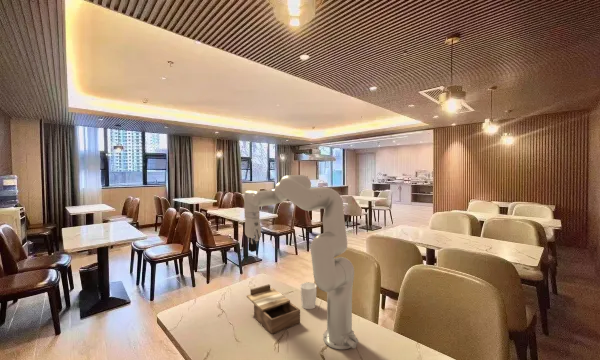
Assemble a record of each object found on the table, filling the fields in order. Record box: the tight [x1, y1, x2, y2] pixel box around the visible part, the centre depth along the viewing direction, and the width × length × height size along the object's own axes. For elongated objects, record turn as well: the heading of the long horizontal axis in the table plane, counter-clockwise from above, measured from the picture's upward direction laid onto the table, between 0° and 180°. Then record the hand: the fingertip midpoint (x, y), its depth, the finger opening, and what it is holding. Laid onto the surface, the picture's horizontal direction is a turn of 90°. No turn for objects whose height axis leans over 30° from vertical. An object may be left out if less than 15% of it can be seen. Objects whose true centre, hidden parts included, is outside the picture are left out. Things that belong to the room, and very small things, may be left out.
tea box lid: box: [246, 284, 291, 311], centre depth 125 cm, size 16×14×3 cm
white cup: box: [299, 281, 318, 310], centre depth 131 cm, size 8×8×10 cm
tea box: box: [253, 301, 301, 336], centre depth 118 cm, size 16×14×6 cm
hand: (252, 250), depth 137 cm, fingers closed
